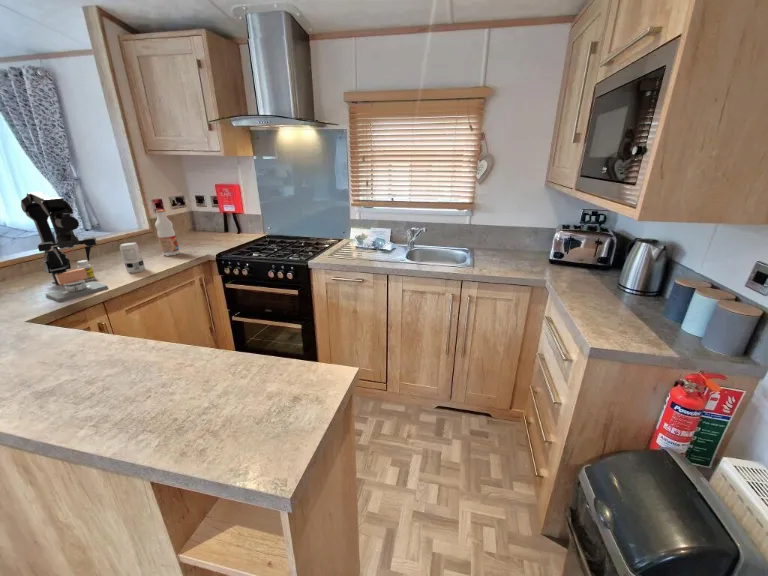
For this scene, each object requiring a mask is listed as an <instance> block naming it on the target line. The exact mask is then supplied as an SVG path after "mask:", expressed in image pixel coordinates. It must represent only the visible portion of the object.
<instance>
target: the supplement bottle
mask: <svg viewBox="0 0 768 576" xmlns="http://www.w3.org/2000/svg"><path fill="white" fill-rule="evenodd" d="M76 262H77V267H76V269H81V268H84V269H85V271H86V273H87V276H88V278H86V279H84V282H91V281H93V280H95V279H96V276H95V273H94V270H93V267H92V265H91V264H89V261H88V259H83V260H78V261H76Z"/></svg>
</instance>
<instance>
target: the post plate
mask: <svg viewBox="0 0 768 576" xmlns="http://www.w3.org/2000/svg"><path fill="white" fill-rule="evenodd" d="M85 283H86V286H87V288H85V289H83V290H79V291H75V292H67V291H66V289H65V288H61V289H57V290H54V291H51V292H45V293H44V294H45V296H46V298H49V299H51V300H53V301H55V302H58V303H62V302H65V301H70V300H72V299H73V300H74V299H76V298H79V297H84V296H87V295H90V294H93V293H98V292H101V291H104V290H107V289H109V287H108V285H106V284H104V283H100V282H98V281H93V280H91V281H87V282H85ZM76 285H79V284H76ZM71 286H75V285H71Z"/></svg>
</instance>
